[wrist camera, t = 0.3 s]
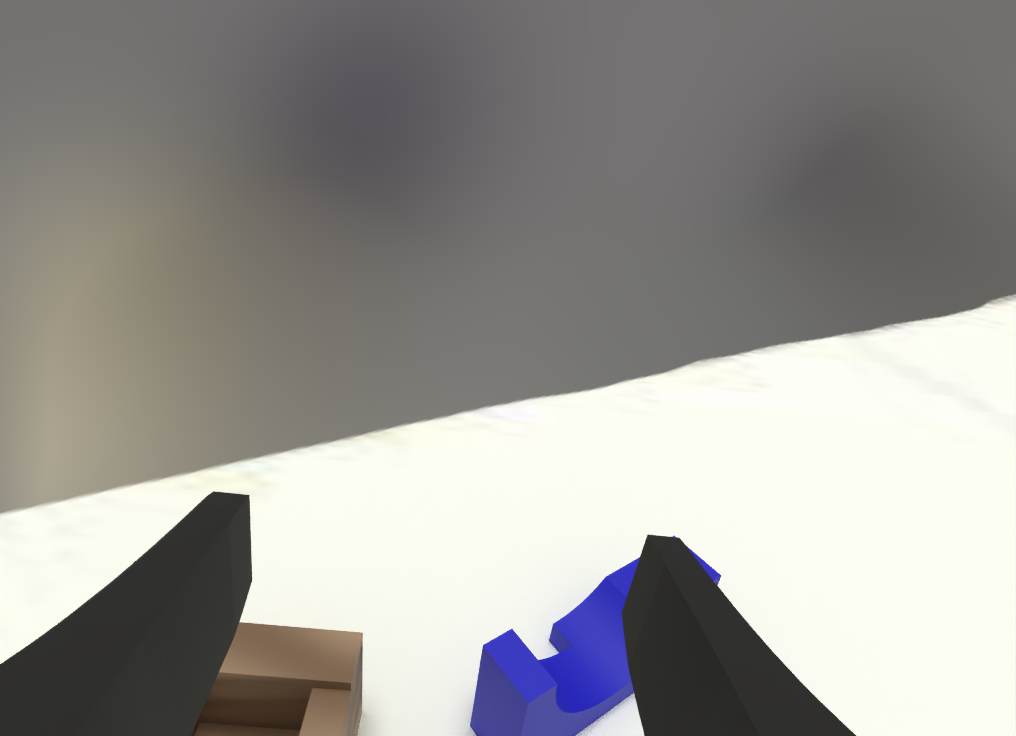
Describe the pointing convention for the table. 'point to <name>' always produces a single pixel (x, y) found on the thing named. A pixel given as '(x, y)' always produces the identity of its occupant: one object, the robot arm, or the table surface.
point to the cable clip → (560, 669)
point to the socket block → (286, 684)
